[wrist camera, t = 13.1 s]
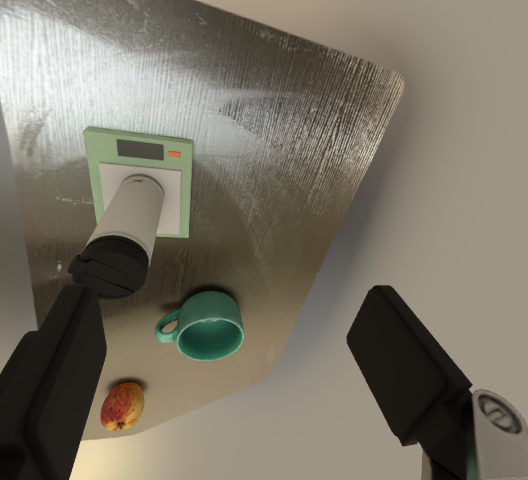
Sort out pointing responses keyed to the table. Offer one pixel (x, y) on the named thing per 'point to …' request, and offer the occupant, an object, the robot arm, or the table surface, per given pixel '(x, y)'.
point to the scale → (142, 172)
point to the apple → (122, 407)
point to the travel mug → (122, 240)
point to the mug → (205, 327)
